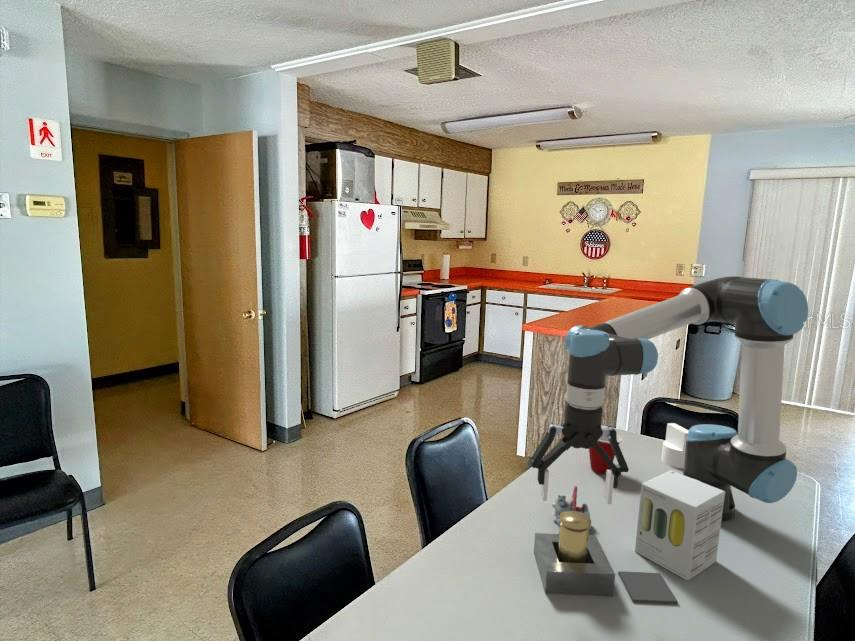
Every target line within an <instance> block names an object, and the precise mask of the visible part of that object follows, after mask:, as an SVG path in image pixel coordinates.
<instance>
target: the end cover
mask: <svg viewBox="0 0 855 641" xmlns="http://www.w3.org/2000/svg"><path fill="white" fill-rule="evenodd" d="M559 522H560V528H559V534H560V536H559V550H558V561H559V562H565V563H586V560H587V548H588V536H589V534H590V530H591V529H590V527H591V528H592V518H591V517H590V518H589V517H588V516H587V515H585V514H583V513H581V512H577V511H564V512H562V513H561V514H560V517H559ZM589 529H590V530H589Z"/></svg>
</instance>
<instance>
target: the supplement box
mask: <svg viewBox="0 0 855 641" xmlns="http://www.w3.org/2000/svg"><path fill="white" fill-rule="evenodd" d="M724 497H725V491H723V490H720V489H718V488H715V487H712V486H710V485H707V484H705V483H702V482H700V481H698V480H696V479H692V478H690V477H687V476H685V475H683V473H682V474H681V473H680V472H677V471H675V470H672V469H671V470H668V471H666V472H664V473H662V474H660V475H657V476H655V477H653V478H652V477H651V478H650V479H649V480H647V481H644V482H641V488H640V496H639V507H638V516H637V528H636V537H635V545H634V546H635V547H634V552H635V553H637V554H639V555H641V556H643V557H644V558H646V559H648V560H650V561H651V562H652V563H655V564H657V565H659V566H660V567H662V568H664V569H666V570H668V571H669V572H671V573H673V574H674V575H677V576H679V577H680V578H682V579H684V580H685V581H690V580H691V579H692V578H694V577H696V576H697V575H698V574H700V573H701V572H703V571H704V570H706V569H707V568H709V567H710V566H712V565H713V564H715V563H716V562H717V558H718V549H719V542H720V534H721V525H722V521H721V520H722V512H723V504H724Z"/></svg>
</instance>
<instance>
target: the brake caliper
mask: <svg viewBox="0 0 855 641" xmlns="http://www.w3.org/2000/svg"><path fill="white" fill-rule="evenodd" d="M577 496H578V485H577V484H576V485H574V487H573V492H572V496H571V498H570V497H566V495H565V494H563V495H561V494H558V495H557V497H556V499H555V502H553V503H552V504H551V506H552V507H553V509H554V513H551V515H552V516H553V515H554V517H555V518H556V519H554V520H553V521H552V522H553V523H554V524H555V525H557V527H558V528H559V529H560V522H559V517H560V514H561V513H562V512H564V511H577V512H581V513H583V514H585V515H587V516H588V517H589V518H590V519H591V514H590V510H589V506H588V504H587V503H585V502H584V503H582V506H577V498H578V497H577ZM591 529H592V526H591V527H590V529H589V531H591Z"/></svg>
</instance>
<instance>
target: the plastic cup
mask: <svg viewBox="0 0 855 641" xmlns="http://www.w3.org/2000/svg"><path fill="white" fill-rule="evenodd" d="M622 441H623V438H622V437H621V436H620V435H619V434H617V442H618V444H619V445H620V444H621V442H622ZM597 442H598V443H599V445H600V446H601V447H602V449H603V450H604V451H605V452H606V454H607V455H608V456H609V458H610V459H611V460H612V462H613V463H614V460H615V458H616V456H615V454H614V452H613V449H612V447H611V445H610V442H609V440H608V439H607V438H606V437H605V435H604V434H603V435H602V436H601V437H600V438H599V440H598V441H597ZM588 453H589V456H588V457H589V463H590V468H591V471H593V472H595V473H596V474H601V475H606V472H607V470H611V469H610V467H609V466H608V465H607V463H606V462H605V461H604V459H603V458H602V457H601V456H600V454H599V453H598V452H597V451H596V449H595V448H594V447H593V446H592V447H590V448H589V449H588Z"/></svg>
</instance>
